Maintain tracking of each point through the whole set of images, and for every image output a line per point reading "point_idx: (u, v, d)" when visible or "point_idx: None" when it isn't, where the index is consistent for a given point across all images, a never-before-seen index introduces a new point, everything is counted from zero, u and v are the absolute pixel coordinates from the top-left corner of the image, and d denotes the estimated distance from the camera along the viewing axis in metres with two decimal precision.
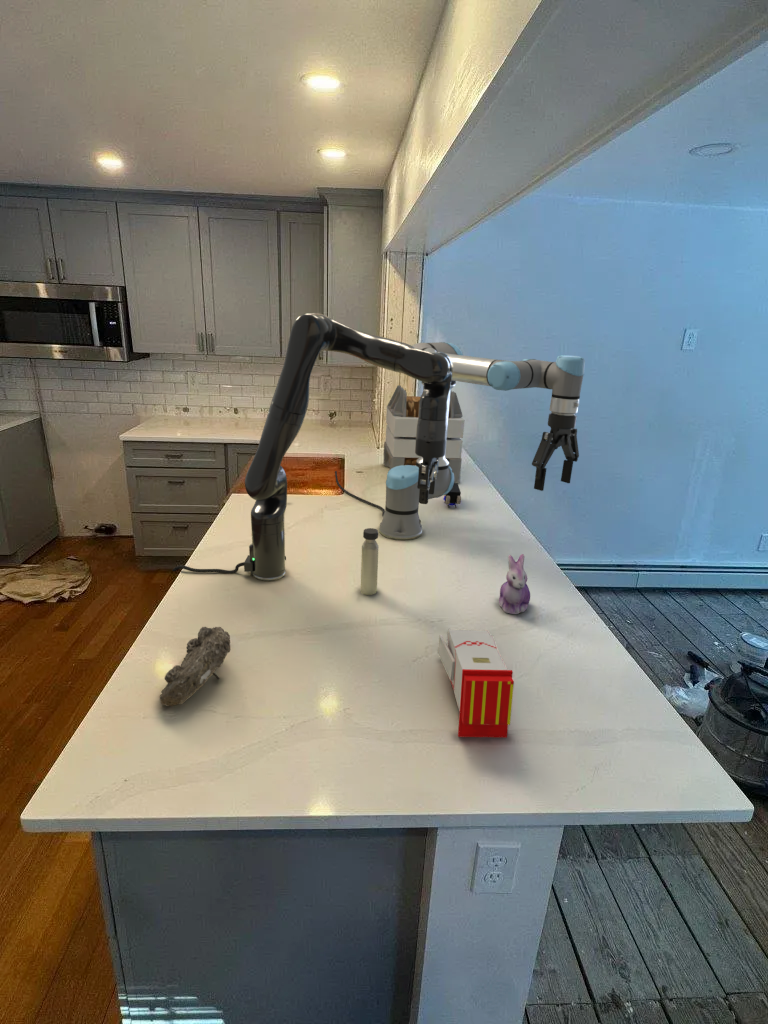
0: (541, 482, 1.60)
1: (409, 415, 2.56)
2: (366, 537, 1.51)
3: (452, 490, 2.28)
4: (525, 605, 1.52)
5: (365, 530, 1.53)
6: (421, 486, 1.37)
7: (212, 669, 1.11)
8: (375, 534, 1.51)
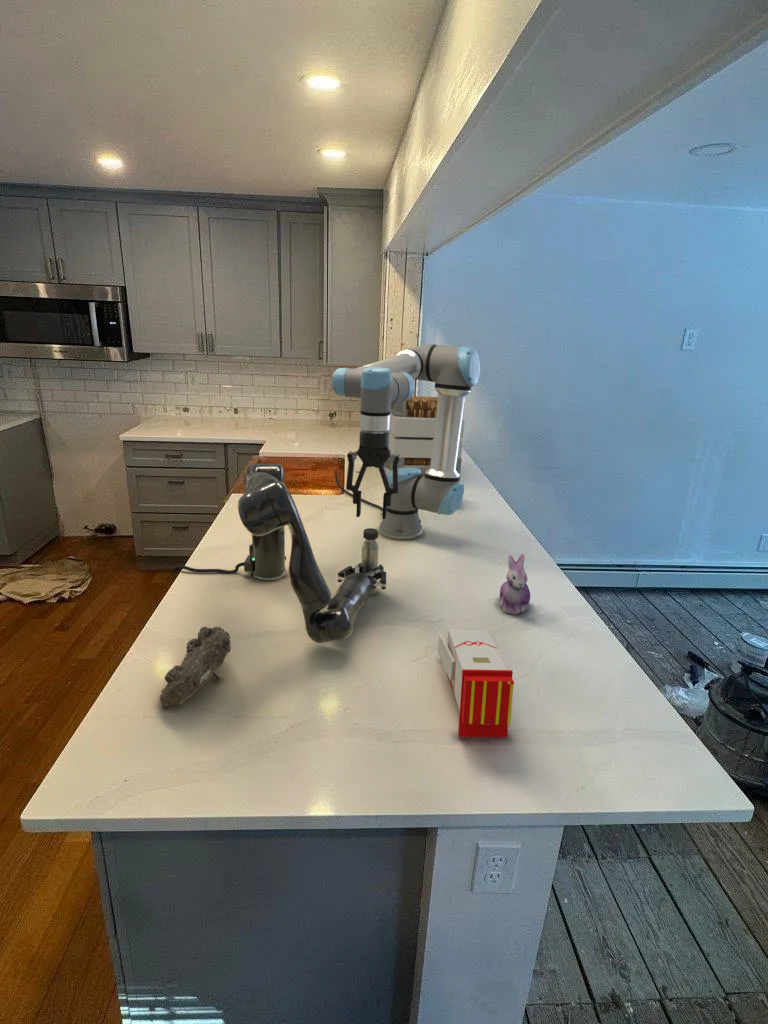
0: (386, 507, 1.51)
1: (409, 415, 2.56)
2: (366, 537, 1.51)
3: None
4: (525, 605, 1.52)
5: (365, 530, 1.53)
6: None
7: (212, 669, 1.11)
8: (375, 534, 1.51)
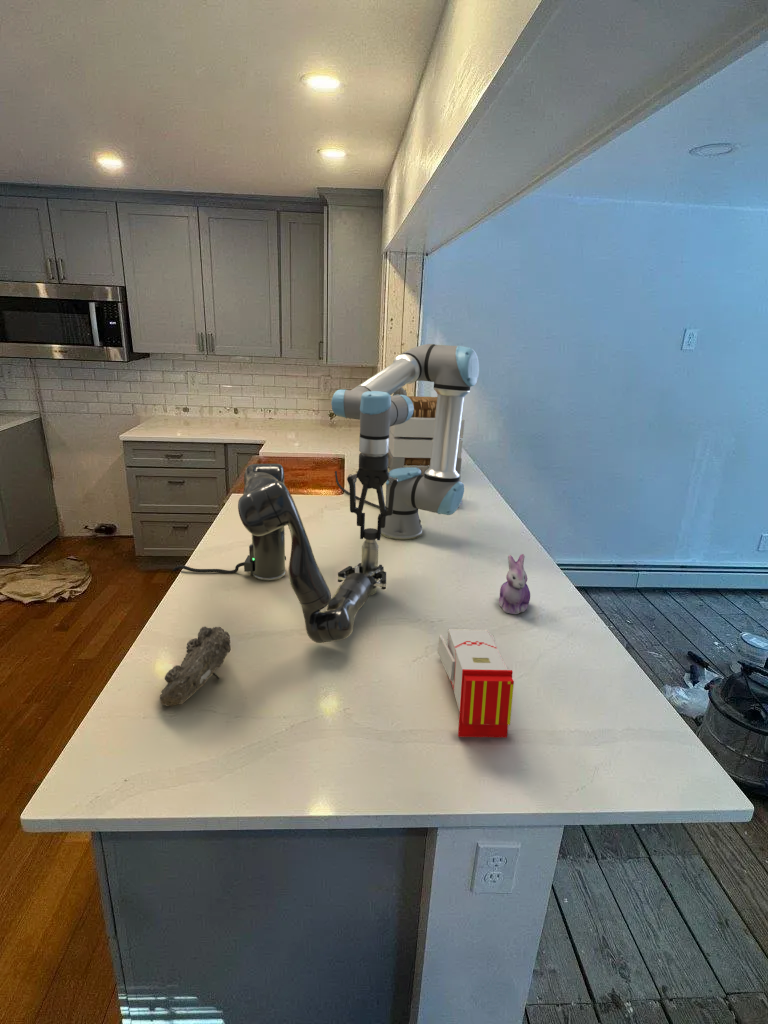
0: None
1: None
2: (366, 537, 1.51)
3: None
4: (525, 605, 1.52)
5: (365, 530, 1.53)
6: None
7: (212, 669, 1.11)
8: (375, 534, 1.51)
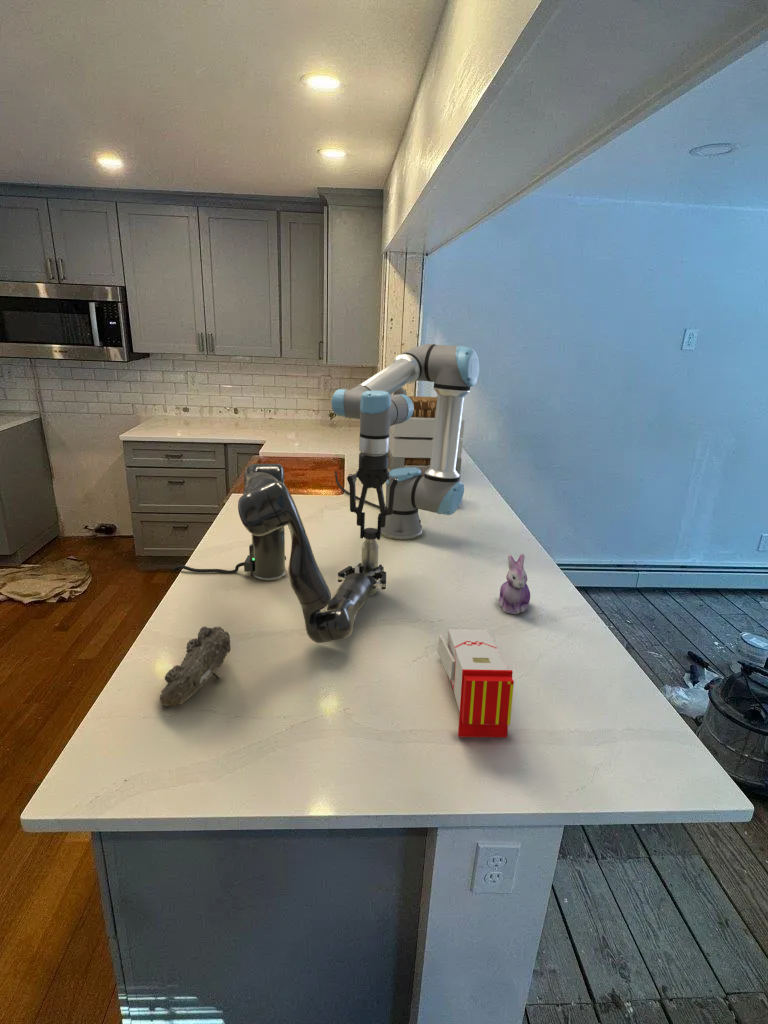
0: None
1: None
2: None
3: None
4: (525, 605, 1.52)
5: (373, 532, 1.51)
6: None
7: (212, 669, 1.11)
8: None
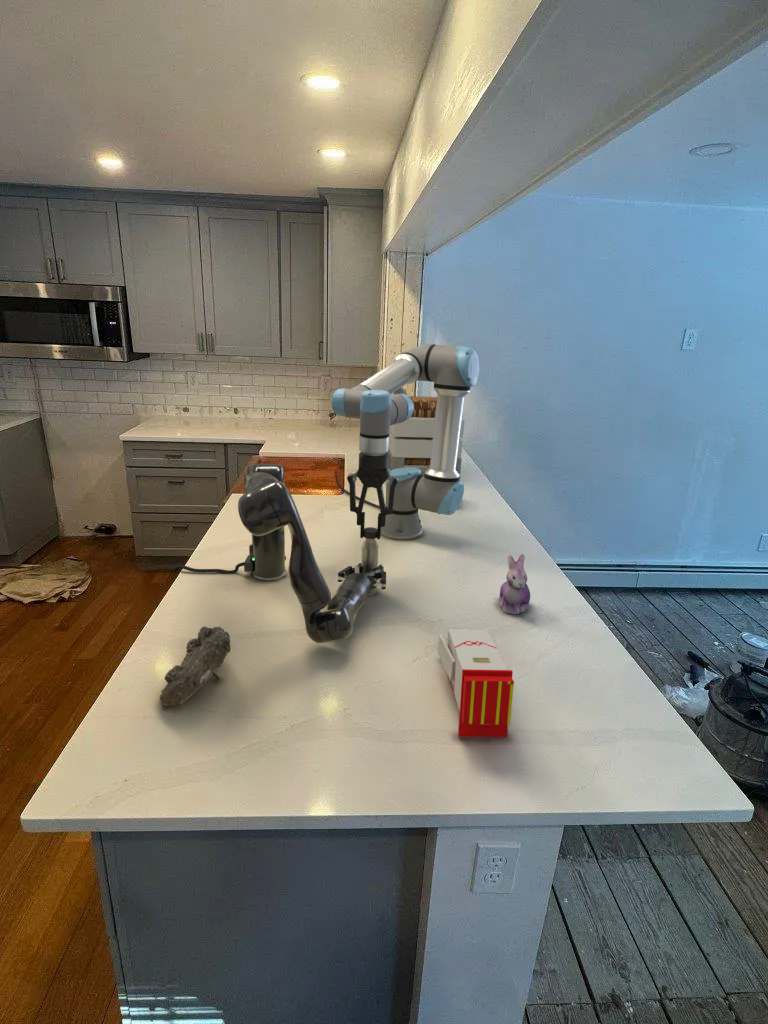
0: None
1: None
2: None
3: None
4: (525, 605, 1.52)
5: (374, 528, 1.53)
6: None
7: (212, 669, 1.11)
8: None
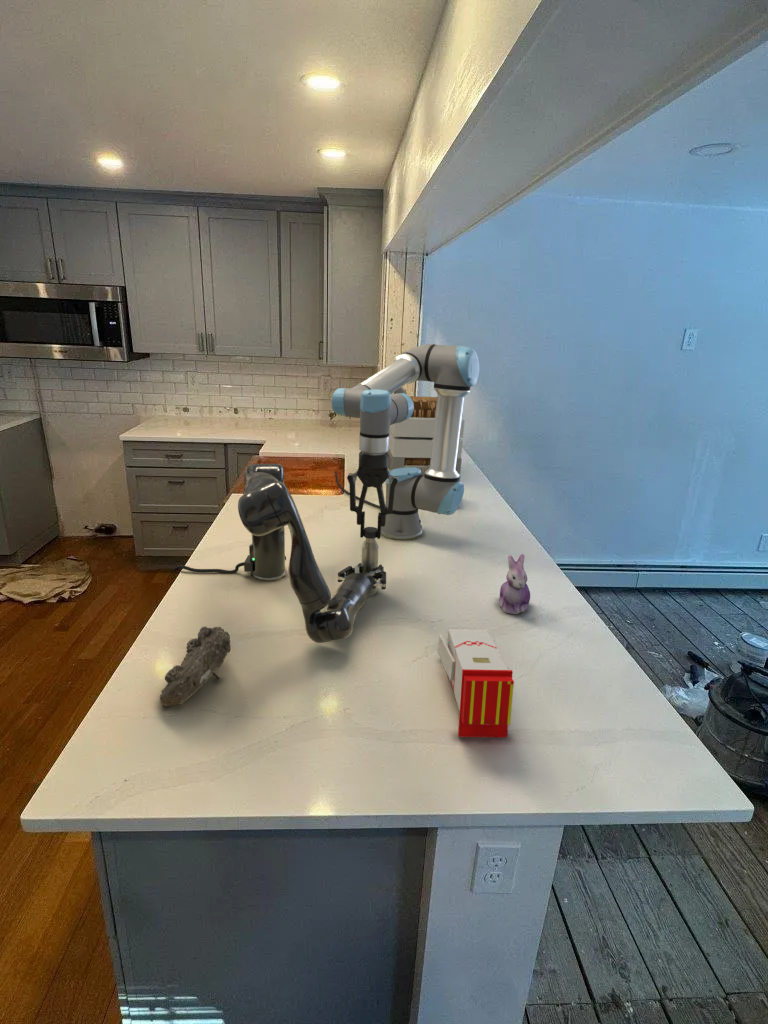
0: None
1: None
2: (366, 535, 1.51)
3: None
4: (525, 605, 1.52)
5: (365, 528, 1.52)
6: None
7: (212, 669, 1.11)
8: (375, 533, 1.51)
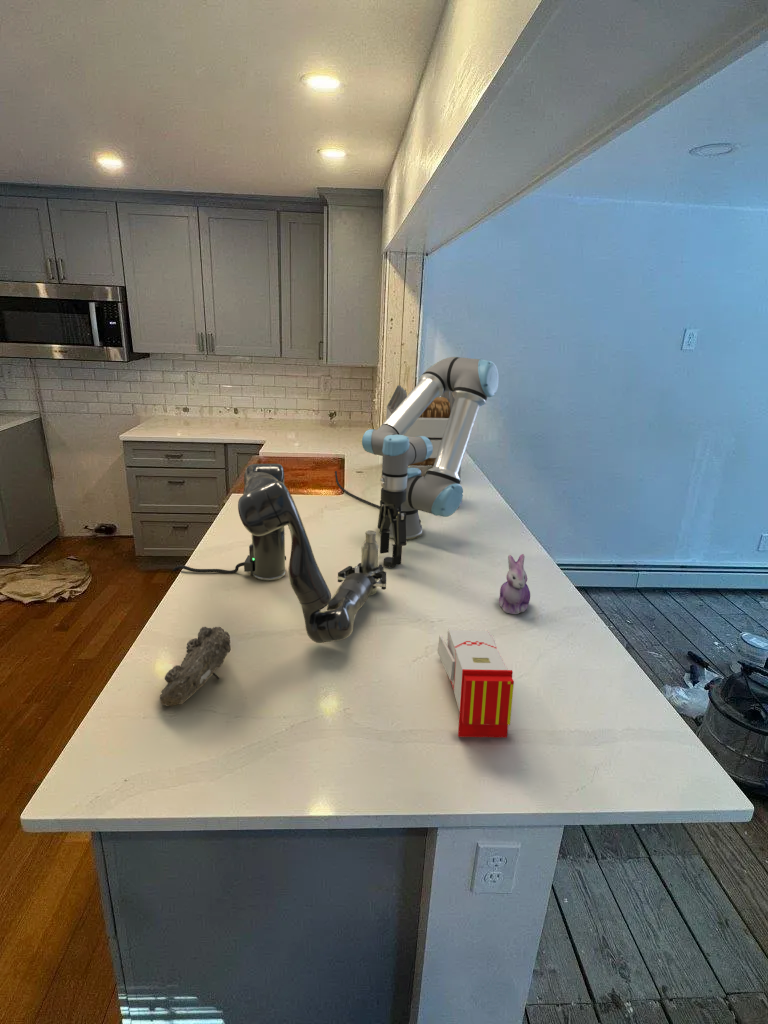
0: None
1: None
2: None
3: None
4: (525, 605, 1.52)
5: (391, 561, 1.73)
6: None
7: (212, 669, 1.11)
8: None
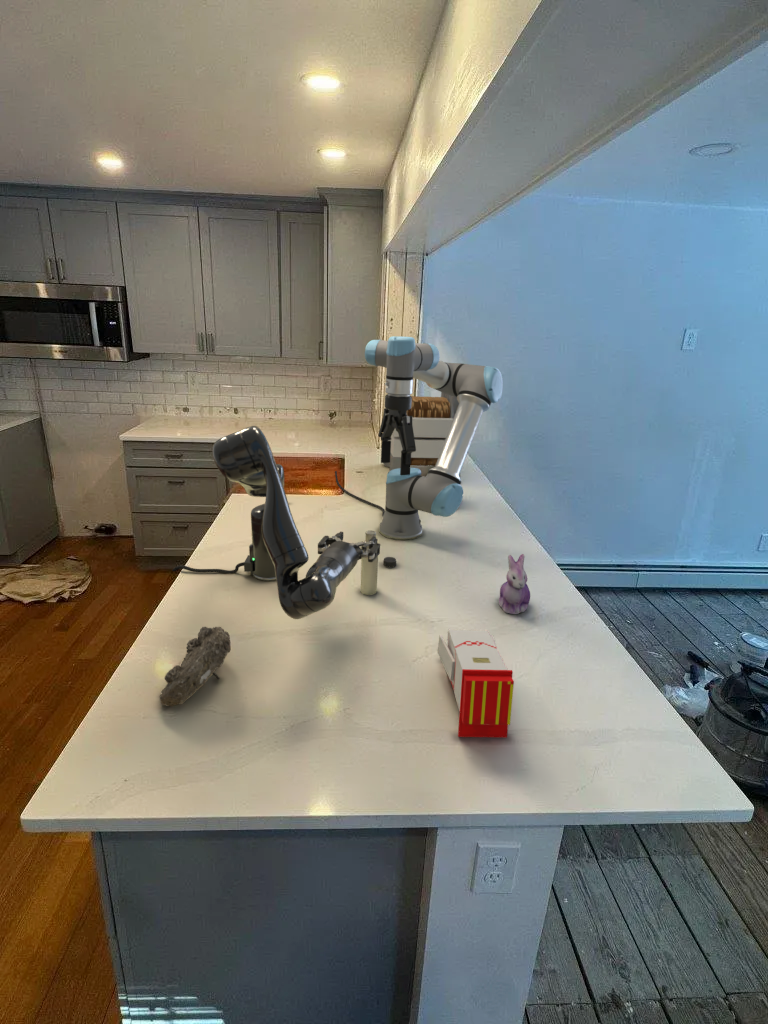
0: None
1: (409, 415, 2.56)
2: (395, 564, 1.75)
3: None
4: (525, 605, 1.52)
5: (391, 561, 1.73)
6: None
7: (212, 669, 1.11)
8: None
